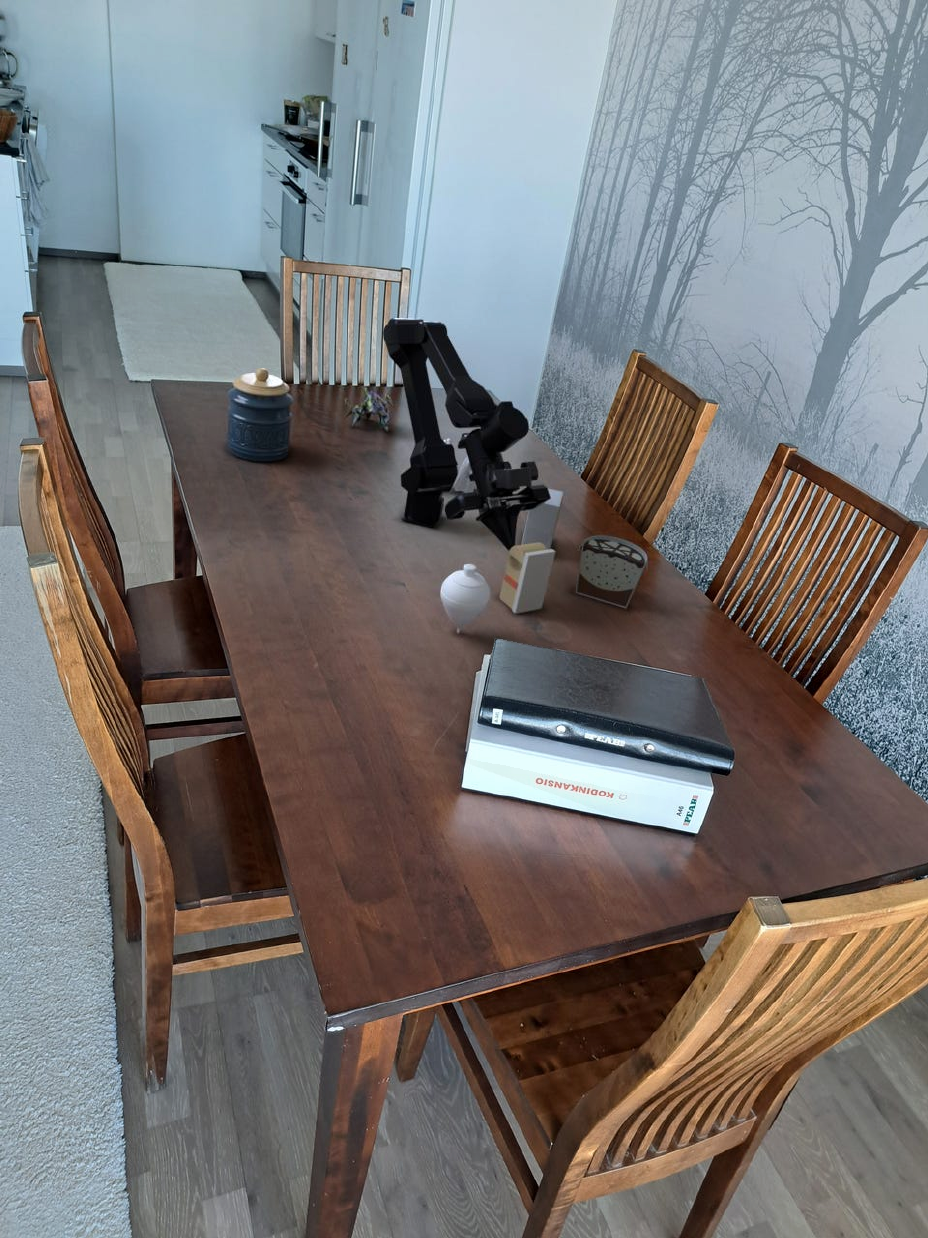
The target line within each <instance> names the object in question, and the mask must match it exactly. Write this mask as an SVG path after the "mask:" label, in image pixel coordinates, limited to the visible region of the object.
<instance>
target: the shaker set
mask: <svg viewBox="0 0 928 1238" xmlns="http://www.w3.org/2000/svg"><path fill="white" fill-rule="evenodd" d="M442 440H443V441H444V442H445V443H446V444H452V439H451V438H446V439H442ZM452 445H453V444H452ZM471 474H472V470H471V467H470V463H469V460H468V456H467V455H466V457H465V459H464V460H463V462H462V463H461V465H460V467H459V470H458V476H457V478H456V480H455V482H454V486H453V490H455V491H456V492H462V493H469V492H474V490H475V487H476V484H475V481H471V482H470V479H469V475H471Z"/></svg>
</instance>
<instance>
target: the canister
mask: <svg viewBox="0 0 928 1238" xmlns="http://www.w3.org/2000/svg"><path fill="white" fill-rule="evenodd" d="M232 386H233V387H232V388H231V389H229V391H228V393H227V396H228V398H229V399H230V403H229V406H228V407H227V413H228V414H227V416H228V417H227V435H226V445H227V450H228V452H229V453H230V454H232V455H233V456H235V457H237V458H240V459H243V460H247V461H253V462H263V463H265V462H276V461H280V460H282V459H285V458H286V457H288V454H289V450H290V449H291V448H290V447H291V446H290V445H291V442H290V433H291V422H292V418H293V414H292V412H291V406H292V404H293V403H294V398H293V396H291V394H290V393H289V392H290V389H291V388H290V386H289V384H287V383H286V382H284V380H282V378H280V377H278V376H275V375H272V374H270V373H269V371H268V370H267V369H266V368H263V367H260V368H257V369H256V371H255V372H250V373H249V372H248V373H245V374H242V375H241V376H239V377H237V378H235V379H234V380H233V381H232Z"/></svg>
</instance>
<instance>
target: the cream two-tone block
mask: <svg viewBox="0 0 928 1238" xmlns="http://www.w3.org/2000/svg"><path fill="white" fill-rule="evenodd" d="M555 555H556V550H555V549H552V548H550V549H548V550H547V549H546V547H545V546H544V544H542V543H540V542H537V543H531V544H524V545H521V544H518V545H515V546H513V547H512V548H511V549H510V551H508V557H507V562H506V565H505V570H504V574H503V575H504V576H503V579H502V584H501V588H500V594H499V600H501V602H503V603H504V604H505V605H506V606H507V607H509V608H510V610H511V612H512V613H514V614H515V615H517V614H522V613H527V612H532V611H536V610H537V611H538V610H541V609H542V608H543V604H544V599H545V596H546V592H547V588H548V584H549V579H550V575H551V573H552V572H551V571H552V569H553V568H552V567H553V564H554V559H555Z"/></svg>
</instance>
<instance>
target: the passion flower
mask: <svg viewBox="0 0 928 1238" xmlns="http://www.w3.org/2000/svg"><path fill="white" fill-rule="evenodd" d="M363 392H364V395H365V397H366V399H365V400H364V401H362V400H361V402H360V403H361V404H359V405H358V404H355V406H354V407H352V405H351V404H350V403H349V402H348V401H349V398H348V397H345V398H344V406H348V407H350V410H349V411H348V412H347V413H345V415H344V417H343V418H344V419H346V418H348V417H349V416H350V415H354V419H353V422H352V425H351V426H350V428H353V427H354V426H355V424H357V423H358V422H360V421H361V419H362V418H363V417H364V416H365V417H364V419H365V421H367V420H370V419H371V416H372V415H378V418H379V426H380V428H381V430H382V431H384V432H388V431H389V427H388V425H389V424H390V422H391V421H392V417H391V410H390V409H389V408H388V407H387V404H388V405H390V406H391V407H392V408H395V407H396V406H395V403H394V401H393V399H392V398H391V396H390V394H389V393H388V392H386V393H385V394H384V399H385V401H384V400H383V399H382V396H380V395H379V394H378V393H377V392H376V391H373V390H372V389H371V390H370V391H369V390H368V388H367V387H365V386H364V388H363Z"/></svg>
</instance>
